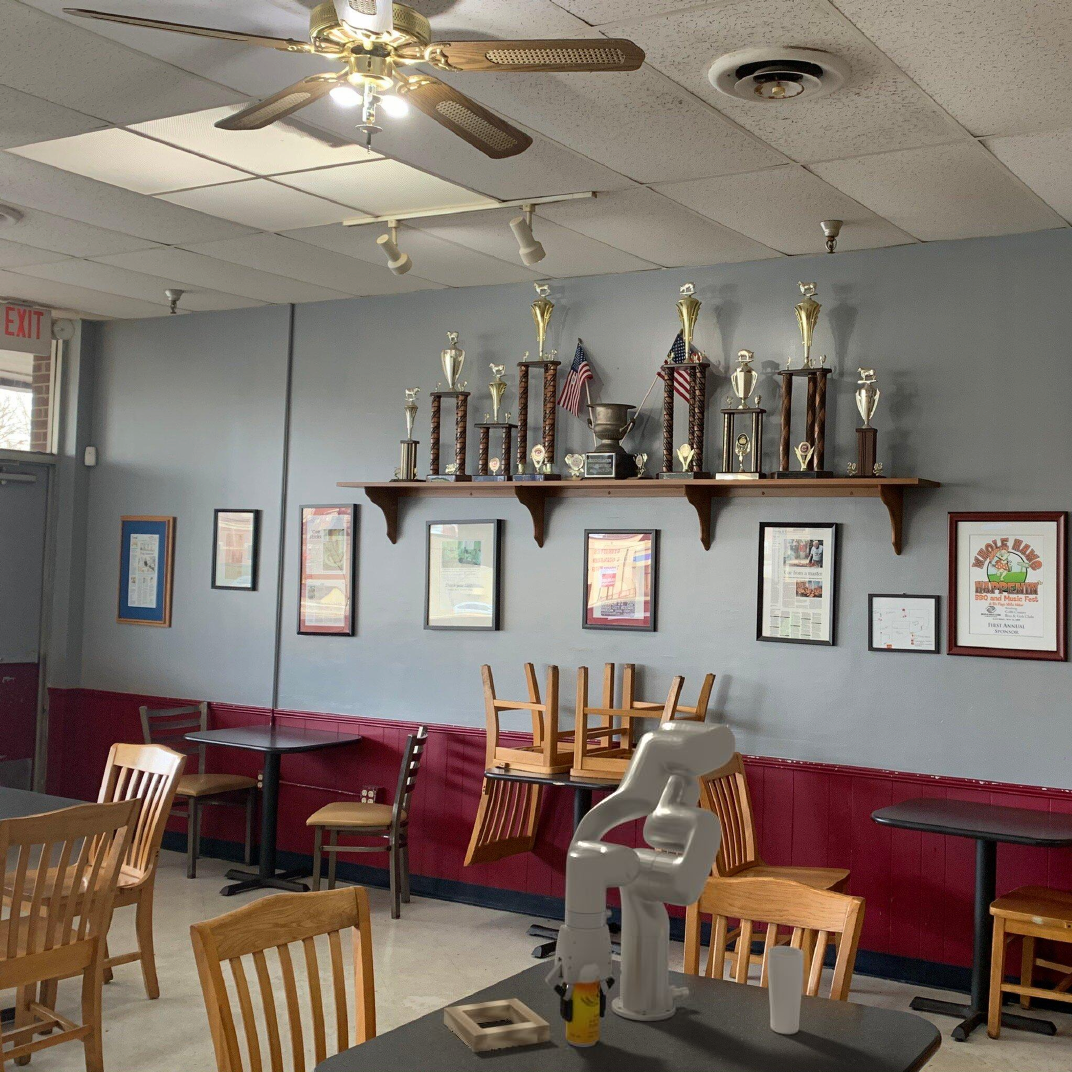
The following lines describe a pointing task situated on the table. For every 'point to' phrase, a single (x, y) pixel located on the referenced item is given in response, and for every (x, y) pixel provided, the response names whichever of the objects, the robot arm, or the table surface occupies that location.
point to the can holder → (520, 1033)
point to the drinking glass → (785, 987)
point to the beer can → (585, 1008)
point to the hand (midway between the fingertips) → (582, 1016)
